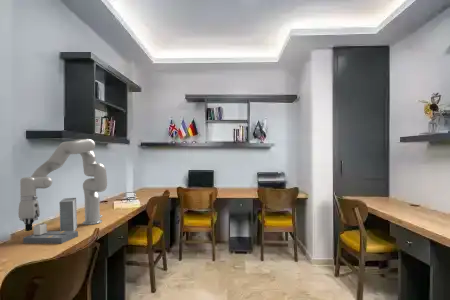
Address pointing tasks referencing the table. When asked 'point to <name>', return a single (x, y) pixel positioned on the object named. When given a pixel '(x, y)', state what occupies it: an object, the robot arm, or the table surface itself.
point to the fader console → (51, 237)
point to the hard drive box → (68, 214)
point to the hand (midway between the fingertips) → (28, 230)
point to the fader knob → (40, 229)
